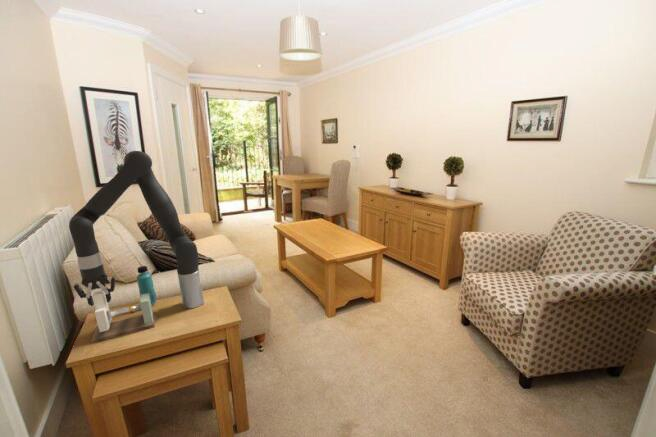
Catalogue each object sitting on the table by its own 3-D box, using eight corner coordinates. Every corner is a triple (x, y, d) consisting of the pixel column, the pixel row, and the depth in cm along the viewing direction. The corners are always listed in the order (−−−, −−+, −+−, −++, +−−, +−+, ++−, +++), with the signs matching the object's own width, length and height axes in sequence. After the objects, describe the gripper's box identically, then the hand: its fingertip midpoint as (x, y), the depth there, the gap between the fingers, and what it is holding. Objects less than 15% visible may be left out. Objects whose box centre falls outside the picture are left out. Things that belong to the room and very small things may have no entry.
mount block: (153, 313, 141) (149, 292, 138) (152, 322, 134) (148, 300, 131) (145, 315, 139) (141, 294, 137) (144, 324, 133) (140, 302, 130)
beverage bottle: (150, 309, 148) (142, 270, 143) (138, 308, 149) (130, 269, 144) (160, 302, 154) (153, 264, 149) (149, 301, 155) (141, 264, 150)
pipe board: (155, 314, 143) (154, 311, 142) (154, 327, 133) (154, 323, 133) (97, 329, 133) (96, 326, 133) (92, 343, 124) (91, 340, 123)
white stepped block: (111, 319, 134) (104, 287, 130) (108, 330, 126) (100, 296, 122) (103, 321, 133) (95, 289, 129) (99, 332, 125) (91, 298, 121)
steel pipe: (147, 307, 137) (146, 301, 136) (146, 310, 134) (145, 304, 133) (97, 319, 129) (96, 312, 128) (96, 322, 126) (94, 316, 126)
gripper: (113, 258, 129) (122, 295, 133) (70, 265, 123) (81, 304, 127) (111, 264, 122) (120, 302, 127) (65, 272, 116) (76, 312, 120)
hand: (100, 303), depth 127 cm, fingers open, 5 cm apart
